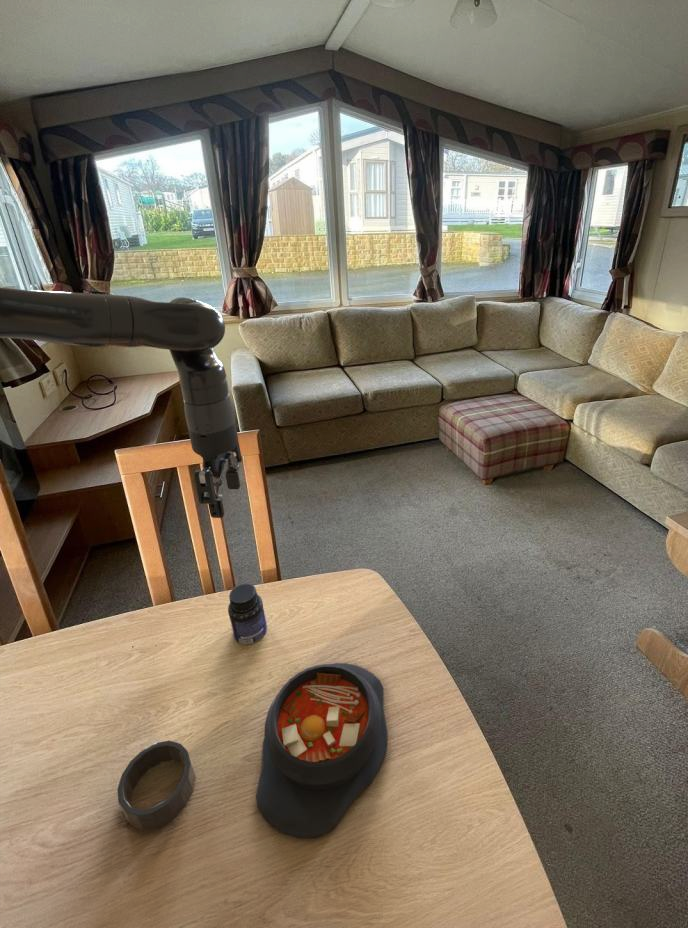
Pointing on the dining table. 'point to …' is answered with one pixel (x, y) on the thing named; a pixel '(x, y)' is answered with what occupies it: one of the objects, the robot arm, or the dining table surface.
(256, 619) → the pill bottle
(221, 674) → the dining table surface
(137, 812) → the ring
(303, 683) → the casserole
